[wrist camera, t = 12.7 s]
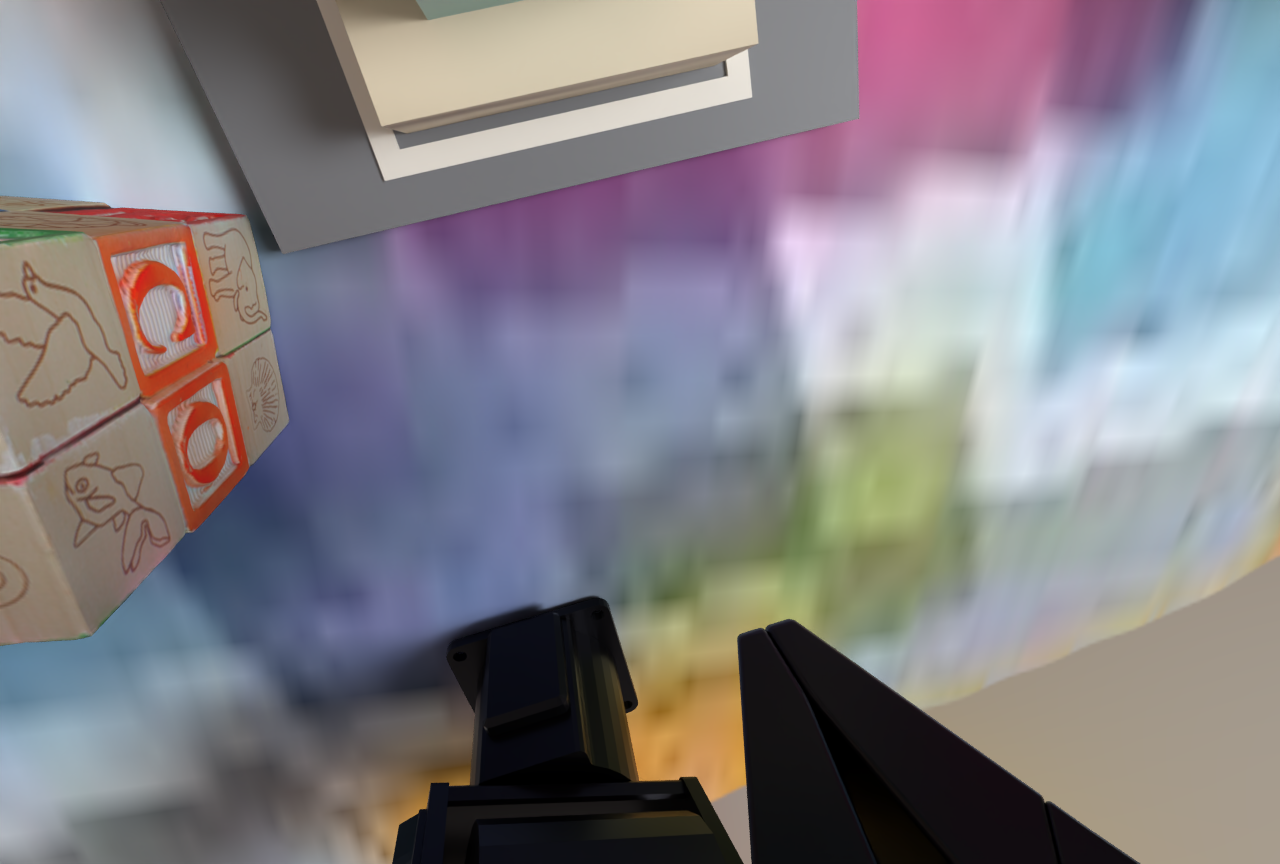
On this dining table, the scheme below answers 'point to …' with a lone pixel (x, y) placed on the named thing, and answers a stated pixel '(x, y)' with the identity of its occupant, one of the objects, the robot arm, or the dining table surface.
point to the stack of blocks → (120, 398)
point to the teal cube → (456, 6)
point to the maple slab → (530, 52)
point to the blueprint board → (487, 146)
